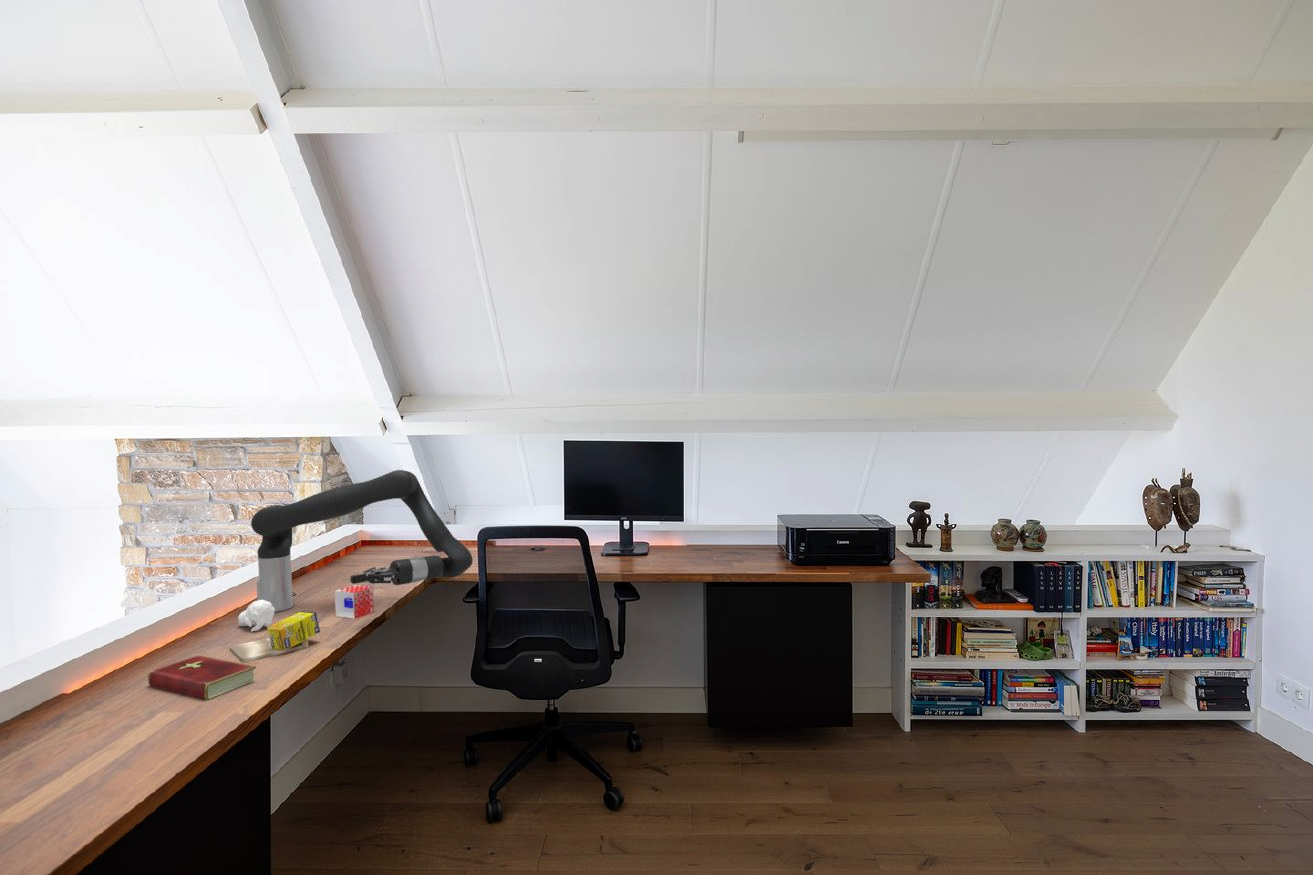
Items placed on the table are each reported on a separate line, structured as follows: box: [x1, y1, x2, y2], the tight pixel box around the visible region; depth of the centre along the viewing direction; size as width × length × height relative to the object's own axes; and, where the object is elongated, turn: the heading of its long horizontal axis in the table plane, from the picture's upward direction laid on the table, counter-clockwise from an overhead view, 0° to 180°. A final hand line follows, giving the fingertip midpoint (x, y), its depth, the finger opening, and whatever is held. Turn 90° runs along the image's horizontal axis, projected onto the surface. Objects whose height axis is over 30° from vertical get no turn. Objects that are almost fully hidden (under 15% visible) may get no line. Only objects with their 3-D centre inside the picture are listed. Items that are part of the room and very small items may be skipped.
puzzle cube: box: [334, 584, 375, 619], centre depth 222 cm, size 8×8×8 cm
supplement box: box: [266, 610, 321, 650], centre depth 191 cm, size 6×6×11 cm
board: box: [229, 637, 309, 664], centre depth 191 cm, size 16×14×2 cm
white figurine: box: [238, 600, 275, 633], centre depth 209 cm, size 6×8×12 cm
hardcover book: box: [147, 654, 257, 701], centre depth 167 cm, size 12×21×4 cm, turn 65°
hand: (351, 579), depth 206 cm, fingers closed
